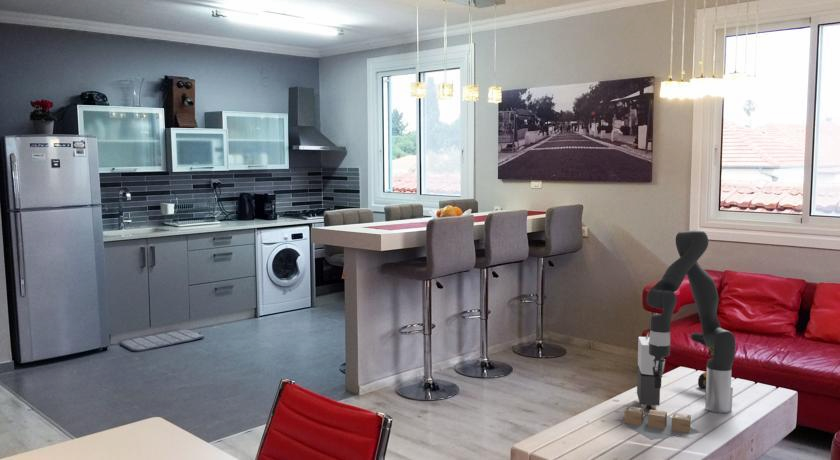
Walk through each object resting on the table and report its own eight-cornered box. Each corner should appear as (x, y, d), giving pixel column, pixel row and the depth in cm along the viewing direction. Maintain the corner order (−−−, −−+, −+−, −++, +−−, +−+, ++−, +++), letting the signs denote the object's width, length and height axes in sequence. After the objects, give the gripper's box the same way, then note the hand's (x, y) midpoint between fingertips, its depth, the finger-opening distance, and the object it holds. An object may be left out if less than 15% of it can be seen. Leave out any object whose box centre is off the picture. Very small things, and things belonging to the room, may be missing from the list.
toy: (659, 412, 291) (661, 338, 289) (640, 411, 293) (642, 337, 290) (655, 400, 306) (657, 330, 303) (636, 399, 307) (638, 329, 305)
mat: (662, 414, 289) (662, 413, 289) (701, 434, 268) (701, 432, 268) (615, 421, 281) (615, 419, 281) (650, 441, 261) (651, 439, 261)
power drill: (692, 379, 336) (694, 326, 334) (733, 391, 318) (735, 335, 316) (681, 382, 332) (683, 328, 330) (722, 394, 314) (724, 338, 312)
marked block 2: (673, 425, 275) (673, 412, 274) (690, 428, 272) (690, 414, 272) (671, 430, 270) (671, 417, 269) (688, 433, 267) (689, 419, 266)
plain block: (650, 422, 279) (650, 409, 278) (666, 424, 276) (667, 411, 276) (647, 427, 273) (648, 414, 273) (664, 429, 271) (664, 416, 270)
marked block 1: (627, 418, 282) (627, 405, 282) (643, 421, 280) (643, 407, 279) (624, 423, 277) (625, 410, 276) (640, 426, 274) (641, 412, 274)
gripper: (652, 337, 280) (650, 381, 281) (646, 345, 268) (644, 391, 269) (672, 340, 276) (670, 384, 278) (667, 347, 264) (665, 394, 266)
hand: (657, 387), depth 273 cm, fingers closed
